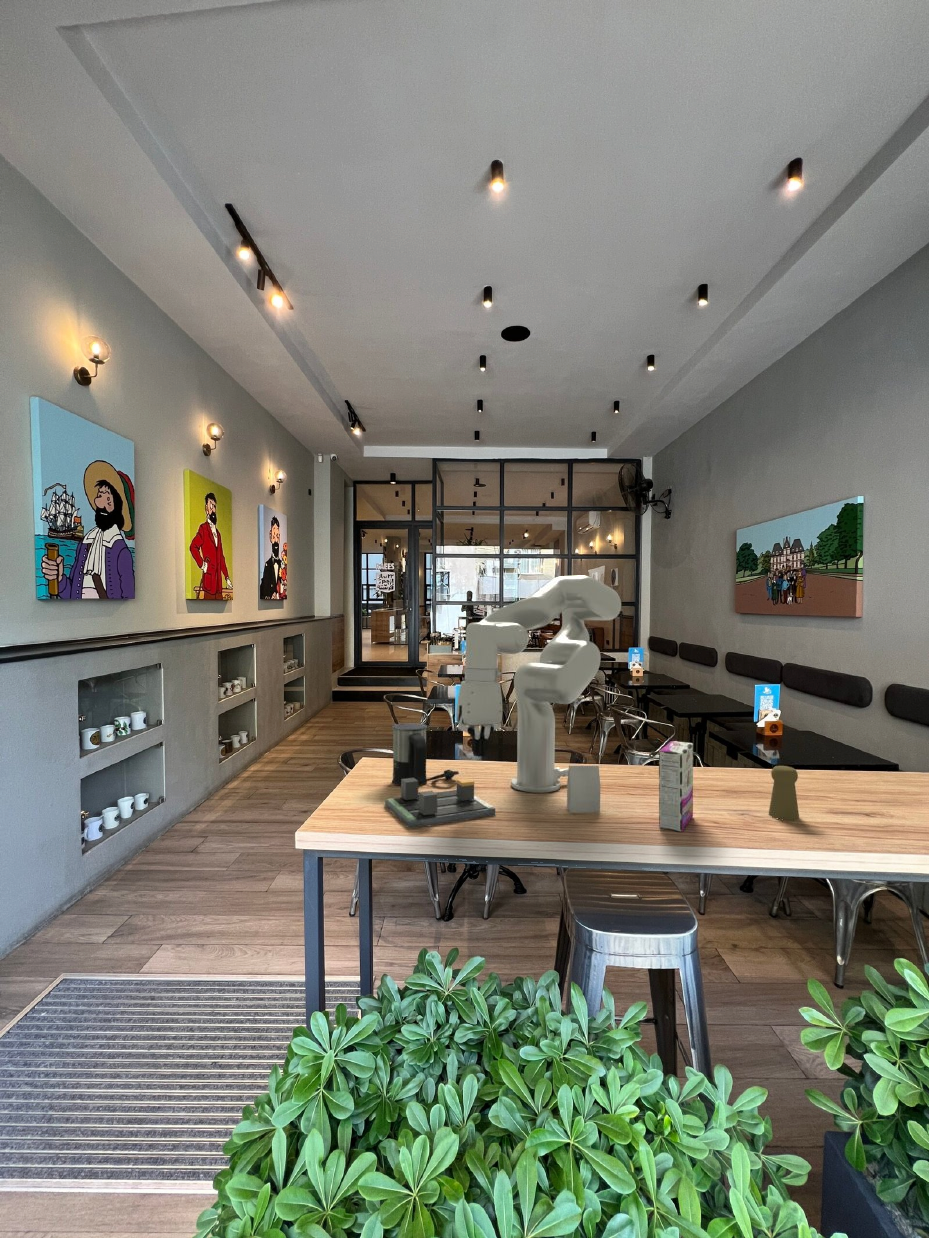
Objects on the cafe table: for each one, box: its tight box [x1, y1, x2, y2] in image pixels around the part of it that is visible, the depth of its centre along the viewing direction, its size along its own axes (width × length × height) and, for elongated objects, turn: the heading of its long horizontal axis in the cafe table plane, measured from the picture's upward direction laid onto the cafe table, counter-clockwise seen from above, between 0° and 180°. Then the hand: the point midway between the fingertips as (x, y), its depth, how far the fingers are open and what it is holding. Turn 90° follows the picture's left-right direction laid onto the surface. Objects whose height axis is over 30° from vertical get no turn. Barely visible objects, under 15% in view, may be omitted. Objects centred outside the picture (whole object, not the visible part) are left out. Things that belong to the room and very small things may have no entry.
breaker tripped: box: [456, 777, 475, 801], centre depth 138 cm, size 3×3×4 cm
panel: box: [384, 789, 496, 829], centre depth 136 cm, size 20×16×2 cm
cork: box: [768, 765, 800, 822], centre depth 134 cm, size 6×6×11 cm
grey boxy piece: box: [566, 765, 601, 814], centre depth 137 cm, size 4×7×10 cm, turn 91°
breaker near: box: [418, 790, 437, 815], centre depth 128 cm, size 3×3×4 cm
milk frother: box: [391, 722, 460, 787], centre depth 158 cm, size 14×16×15 cm
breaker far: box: [400, 778, 419, 800], centre depth 138 cm, size 3×3×4 cm
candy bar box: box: [658, 740, 694, 833], centre depth 129 cm, size 11×5×16 cm, turn 148°
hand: (479, 755), depth 139 cm, fingers closed
